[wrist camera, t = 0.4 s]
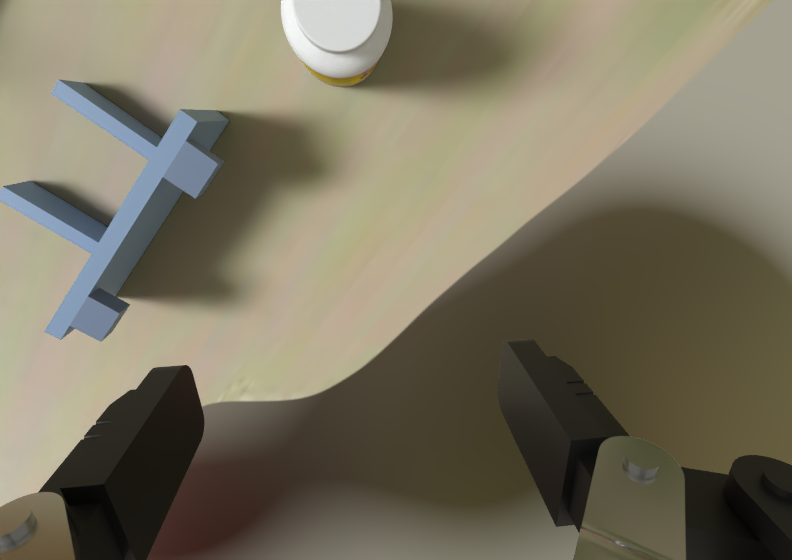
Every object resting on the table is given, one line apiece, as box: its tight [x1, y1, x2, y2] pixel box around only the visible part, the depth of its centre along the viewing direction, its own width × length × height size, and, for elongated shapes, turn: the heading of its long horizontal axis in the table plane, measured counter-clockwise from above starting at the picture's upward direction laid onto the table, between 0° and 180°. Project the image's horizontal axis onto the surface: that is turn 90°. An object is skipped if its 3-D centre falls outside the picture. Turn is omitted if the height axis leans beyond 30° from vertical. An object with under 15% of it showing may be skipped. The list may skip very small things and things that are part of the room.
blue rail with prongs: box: [0, 80, 229, 341], centre depth 32 cm, size 12×20×8 cm, turn 141°
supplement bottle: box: [281, 0, 393, 87], centre depth 27 cm, size 7×7×13 cm
